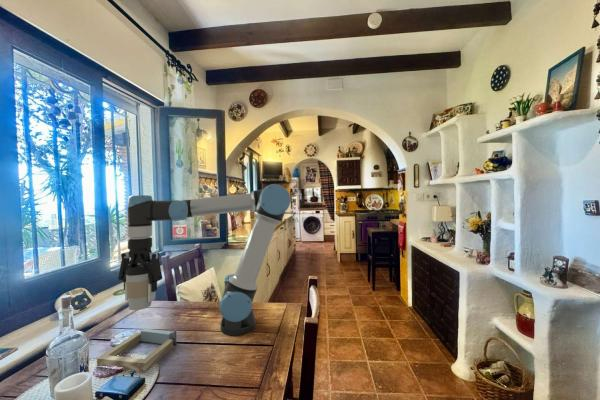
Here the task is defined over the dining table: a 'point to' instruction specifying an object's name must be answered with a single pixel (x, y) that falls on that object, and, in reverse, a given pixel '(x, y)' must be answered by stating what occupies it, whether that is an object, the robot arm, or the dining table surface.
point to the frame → (133, 363)
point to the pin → (174, 337)
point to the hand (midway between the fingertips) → (140, 299)
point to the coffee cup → (137, 287)
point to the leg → (155, 336)
